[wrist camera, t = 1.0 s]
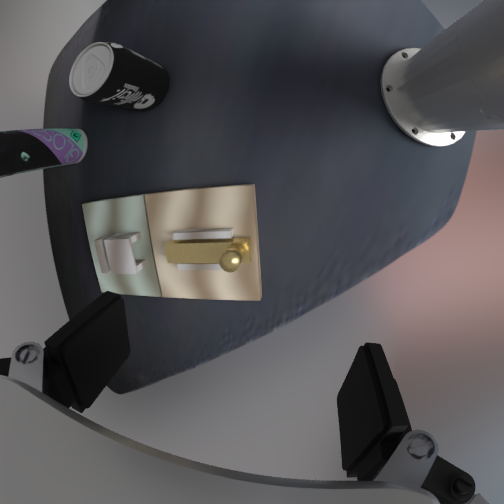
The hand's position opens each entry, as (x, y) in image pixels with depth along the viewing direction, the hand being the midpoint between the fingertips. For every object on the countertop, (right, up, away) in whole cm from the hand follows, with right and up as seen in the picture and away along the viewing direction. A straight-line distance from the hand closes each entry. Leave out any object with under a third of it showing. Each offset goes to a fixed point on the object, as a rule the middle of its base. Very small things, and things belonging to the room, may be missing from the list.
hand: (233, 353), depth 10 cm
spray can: (-26, +20, +23) cm, 40 cm away
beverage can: (-12, +25, +19) cm, 33 cm away
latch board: (-11, +5, +26) cm, 28 cm away
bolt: (-4, +4, +23) cm, 23 cm away
